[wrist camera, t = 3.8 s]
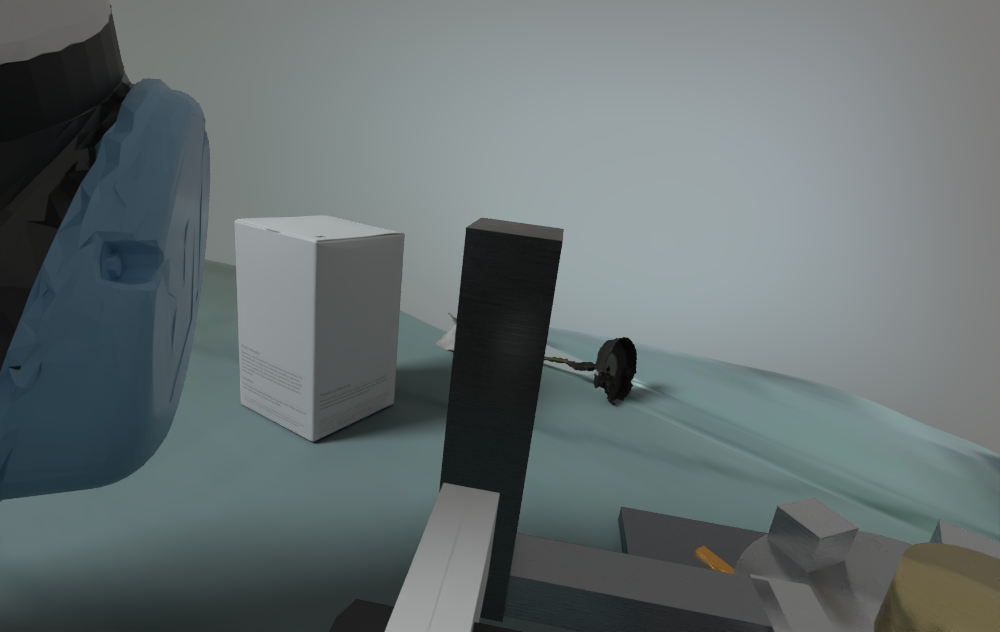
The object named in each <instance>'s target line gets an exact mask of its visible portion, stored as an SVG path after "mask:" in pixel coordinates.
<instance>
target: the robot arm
mask: <svg viewBox="0 0 1000 632" xmlns="http://www.w3.org/2000/svg"><path fill="white" fill-rule="evenodd" d="M209 193H210V149H209V141H208V137H207V133H206V131H205V118H204V114H203V111H202V109H201V107H200V105H199V103H198V102H196V100H194V99H193V98H192V97H191V96H190V95H188V94H186V93H183V92H181V91H177V90H172V89H170V88H169V87H168V86H167V85H166V84H165V83H164V82H163V81H161V80H159V79H142V81H141V82H138V83H136V84H131V82H130V81H129V79H128V77H127V75H126V74H125V70H124V66H123V63H122V60H121V55H120V50H119V45H118V41H117V36H116V31H115V26H114V21H113V16H112V11H111V5H110V3H109V0H0V501H2V500H5V499H13V498H21V497H29V496H37V495H45V494H54V493H62V492H70V491H78V490H86V489H93V488H98V487H103V486H106V485H110V484H113V483H115V482H118V481H120V480H122V479H124V478H126V477H128V476H129V475H131V474H132V473H134V472H135V471H137V470H138V469H139V468H141V467H142V466H143V465H144V464H145V463H146V462H147V461H148V460H149V459H150V458H151V457H152V456H153V455H154V453H155V452H156V450H157V449H158V448H159V446H160V445H161V444H162V442H163V441H164V439H165V437H166V436H167V433H168V431H169V429H170V427H171V424H172V422H173V419H174V416H175V413H176V410H177V407H178V403H179V400H180V396H181V393H182V389H183V385H184V381H185V377H186V372H187V368H188V363H189V358H190V353H191V348H192V342H193V336H194V330H195V324H196V318H197V312H198V306H199V299H200V292H201V284H202V276H203V268H204V259H205V249H206V238H207V227H208V213H209V212H208V211H209ZM499 495H500V493H496V492H491V491H485V490H480V489H475V488H469V487H464V486H458V485H453V484H448V483H443V485H442V488H441V490H440V493H439V495H438V498H437V500H436V503H435V505H434V508H433V510H432V513H431V516H430V518H429V521H428V523H427V526H426V528H425V531H424V533H423V536H422V538H421V541H420V543H419V546H418V549H417V551H416V554H415V556H414V559H413V561H412V564H411V566H410V569H409V571H408V574H407V576H406V579H405V581H404V584H403V587H402V589H401V592H400V594H399V597H398V599H397V602H396V604H395V607H392V606H387V605H383V604H378V603H373V602H368V601H363V600H359V599H356V600H355V601H354V602H353V603H352V604H351V605H350V606H348V607H347V608H346V609H345V610H344V611H343V612H342V613H341V614H340V615H339V616H338V617H337V618H336V620H335V622H334V624H333V625H332V627H331V629H330V631H329V632H521V631H516V630H511V629H506V628H501V627H496V626H492V625H487V624H482V623H479V619H480V614H481V609H482V604H483V599H484V594H485V589H486V584H487V579H488V572H489V565H490V558H491V551H492V544H493V537H494V530H495V523H496V516H497V509H498V502H499Z"/></svg>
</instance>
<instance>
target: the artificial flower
mask: <svg viewBox="0 0 1000 632" xmlns="http://www.w3.org/2000/svg"><path fill="white" fill-rule="evenodd" d="M448 314H449V315H450V316H451V317H452V319H453V322H454V327H453V329H451V330H450V331H449V332H447V333H446V334H445V335H443V336H442V337H441V338H440V339H439V340H438V342H437V343H436V344H437V345H438V346H440V347H442V348H444V349H446V350H453V351H454V343H455V334H456V324H457V318H454V317H453V316H452V315H451V314H450V313H448ZM636 356H637V353H636V349H635V346H634V344H633V343H632V341H631V340H630V339H629V338H625V337H623V338H616V339H614V340H608V341H606V342H605V343H604V345H603V346H602V347H601V348H600V350H599V352H598V358H597V361H596V364H593V363H592V362H582V363H575V362H572V361H568V359H562V358H556V357H553V358H550V357H545V356H544V360H548V361H551V362H557V363H566V364H568V365H569V366H570V367H572V368H574V369H575V370H580V371H585V370H587V371H593V370H595V369H597V372H599V373H598V376H597V375H596V374H595V378H594V386H595V388H597V387H599V386H600V387H602V388H604V389H605V393H606V394H607V395H608V397H607V399H608V401H609V402H610V403H612V401H613V400H616V399H619V400H623V399H624V397H626V395H628V393H629V392H630V391H631V388H632V386H633V385H632V383H631V380H632V379H633V377H634V374H635V373H636V363H637V362H636V360H637V357H636ZM612 404H613V405H615V403H612Z"/></svg>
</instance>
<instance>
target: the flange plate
mask: <svg viewBox="0 0 1000 632" xmlns="http://www.w3.org/2000/svg"><path fill="white" fill-rule="evenodd" d="M618 522H619V529H620V536H621V544H622V551H623V553H624V554H630V555H635V556H640V557H646V558H651V559H656V560H661V561H667V562H672V563H677V564H682V565H688V566H693V567H698V568H704V569H709V570H714V571H719V572H725V573H730V574H733V572H734V569H735V566H736V563H737V561H738V560H739V558H740V556H741V555H742V553H743V552H744V550H745V549H747V548H748V547H749V546H750V545H751V544H752V543H753V542H754V541H756V540H758V539H759V538H761V537H763V536H765V535H766V534H768V533H763V532H757V531H752V530H746V529H741V528H735V527H730V526H724V525H719V524H713V523H708V522H702V521H697V520H691V519H686V518H680V517H675V516H669V515H664V514H658V513H653V512H647V511H642V510H636V509H631V508H625V507H621V509H620V514H619V518H618ZM874 632H1000V559H998V558H995V557H993V556H990V555H987V554H984V553H981V552H978V551H975V550H971V549H967V548H964V547H959V546H955V545H949V544H942V543H920V544H916V545H913V546H911V547H909V548H908V549H906V550H905V552H904V553H903V555H902V557H901V560H900V562H899V564H898V567H897V569H896V571H895V574H894V576H893V579H892V581H891V583H890V586H889V588H888V590H887V593H886V595H885V597H884V600H883V602H882V604H881V607H880V609H879V611H878V614H877V616H876V618H875V622H874Z"/></svg>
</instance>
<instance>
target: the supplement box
mask: <svg viewBox="0 0 1000 632" xmlns="http://www.w3.org/2000/svg"><path fill="white" fill-rule="evenodd" d="M404 236H405V235H404V233H401V232H396V231H392V230H388V229H383V228H378V227H374V226H370V225H365V224H361V223H357V222H352V221H348V220H344V219H340V218H335V217H331V216H303V217H280V218H248V219H237V220H236V221H235V245H236V273H237V301H238V330H239V360H240V390H241V404H242V405H244V406H246V407H247V408H249V409H251V410H253V411H255V412H257V413H259V414H261V415H263V416H264V417H266V418H268V419H270V420H272V421H274V422H276V423H278V424H279V425H281V426H283V427H285V428H287V429H289V430H291V431H293V432H294V433H296V434H298V435H300V436H302V437H304V438H306V439H308V440H310V441H312V442H314V441H316V440H318V439H320V438H322V437H324V436H326V435H329V434H331V433H333V432H335V431H337V430H339V429H341V428H343V427H345V426H348V425H350V424H352V423H354V422H356V421H358V420H360V419H362V418H364V417H367V416H369V415H371V414H373V413H375V412H377V411H379V410H381V409H383V408H385V407H388V406H390V405H392V404H394V393H395V377H396V361H397V345H398V328H399V312H400V296H401V280H402V267H403V251H404Z"/></svg>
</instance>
